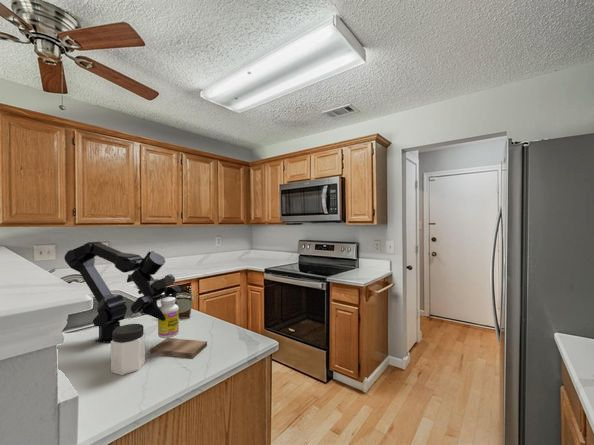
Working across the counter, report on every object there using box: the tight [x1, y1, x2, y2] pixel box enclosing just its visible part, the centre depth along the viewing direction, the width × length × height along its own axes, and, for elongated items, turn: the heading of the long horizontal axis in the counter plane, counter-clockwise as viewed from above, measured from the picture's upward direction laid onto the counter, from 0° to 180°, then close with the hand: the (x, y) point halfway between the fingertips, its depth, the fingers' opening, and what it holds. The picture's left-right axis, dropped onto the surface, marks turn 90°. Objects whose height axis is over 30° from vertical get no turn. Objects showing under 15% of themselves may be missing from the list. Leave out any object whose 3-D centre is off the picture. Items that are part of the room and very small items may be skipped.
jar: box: [110, 323, 146, 376], centre depth 84 cm, size 9×8×12 cm
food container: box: [176, 292, 195, 319], centre depth 129 cm, size 12×6×10 cm, turn 92°
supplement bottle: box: [157, 297, 180, 339], centre depth 97 cm, size 7×7×13 cm
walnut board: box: [149, 337, 208, 359], centre depth 96 cm, size 16×9×2 cm, turn 80°
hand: (171, 316), depth 97 cm, fingers closed on supplement bottle, 7 cm apart
